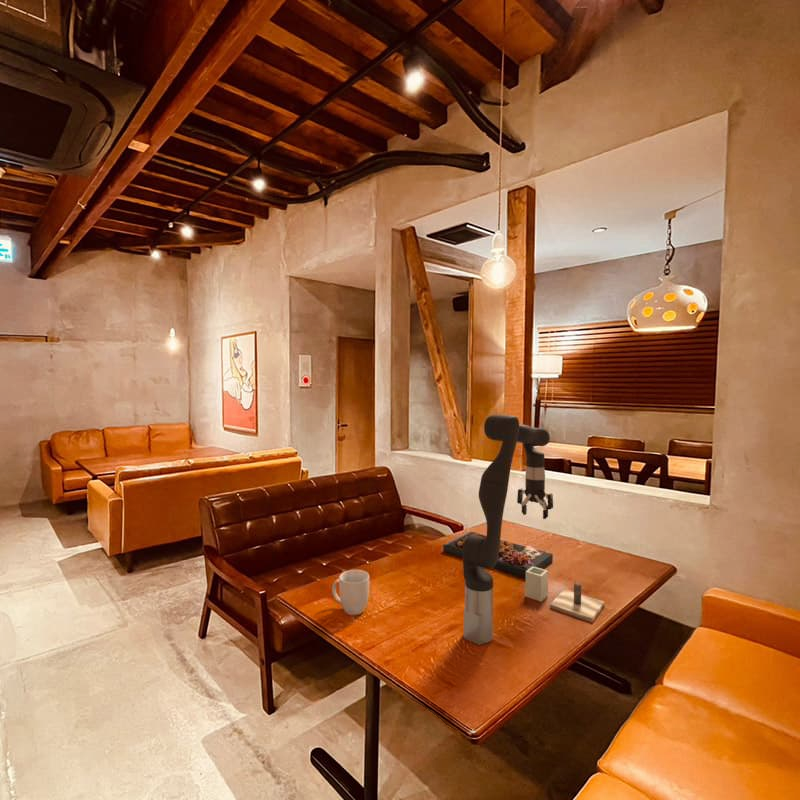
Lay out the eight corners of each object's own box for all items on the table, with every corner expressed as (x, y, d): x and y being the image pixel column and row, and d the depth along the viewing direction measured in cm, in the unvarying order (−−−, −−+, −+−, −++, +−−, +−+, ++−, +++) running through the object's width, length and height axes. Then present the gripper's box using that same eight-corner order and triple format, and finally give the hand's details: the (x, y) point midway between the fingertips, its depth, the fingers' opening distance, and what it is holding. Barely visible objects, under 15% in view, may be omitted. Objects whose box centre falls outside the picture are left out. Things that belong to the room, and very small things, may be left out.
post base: (592, 622, 152) (592, 598, 152) (549, 608, 162) (550, 585, 161) (604, 605, 163) (604, 583, 163) (564, 592, 173) (564, 572, 173)
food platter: (552, 563, 202) (552, 541, 202) (529, 581, 184) (529, 557, 184) (470, 539, 233) (470, 520, 232) (443, 553, 214) (443, 532, 214)
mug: (324, 612, 159) (324, 577, 158) (340, 598, 169) (340, 565, 168) (360, 621, 153) (360, 585, 152) (374, 606, 163) (374, 572, 162)
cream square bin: (541, 601, 166) (541, 576, 166) (525, 596, 170) (525, 571, 170) (547, 595, 171) (548, 570, 171) (532, 590, 175) (532, 566, 175)
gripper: (514, 476, 178) (514, 515, 179) (548, 481, 169) (548, 522, 170) (522, 473, 184) (522, 511, 185) (555, 478, 175) (555, 517, 175)
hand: (534, 516), depth 177 cm, fingers open, 8 cm apart
